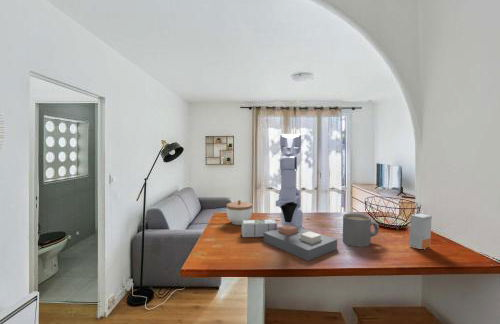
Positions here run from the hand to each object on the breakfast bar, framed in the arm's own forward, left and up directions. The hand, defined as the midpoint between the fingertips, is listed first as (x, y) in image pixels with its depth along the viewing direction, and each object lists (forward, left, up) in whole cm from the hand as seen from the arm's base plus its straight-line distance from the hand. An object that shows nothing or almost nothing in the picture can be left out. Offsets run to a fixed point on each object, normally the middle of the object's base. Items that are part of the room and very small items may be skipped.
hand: (288, 221), depth 99 cm
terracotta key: (0, 0, -6) cm, 6 cm away
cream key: (0, +11, -6) cm, 13 cm away
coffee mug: (-21, +18, -8) cm, 29 cm away
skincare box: (-33, +34, -8) cm, 48 cm away
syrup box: (+11, -16, -5) cm, 20 cm away
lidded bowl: (+1, -32, -8) cm, 32 cm away
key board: (0, +5, -8) cm, 9 cm away
